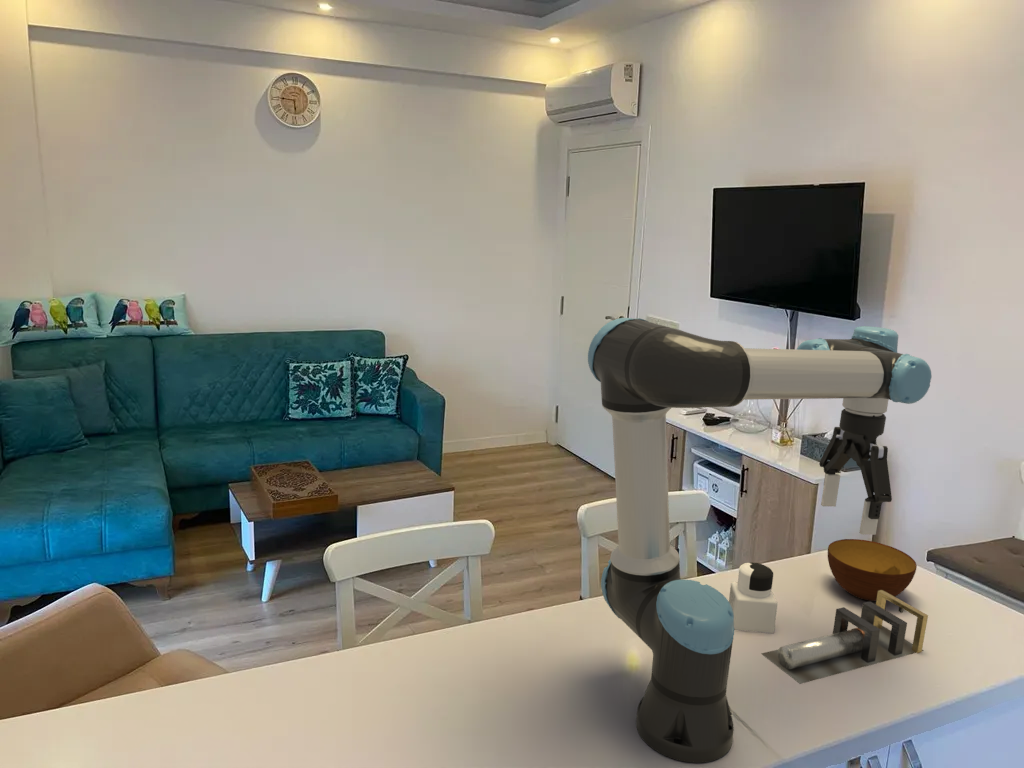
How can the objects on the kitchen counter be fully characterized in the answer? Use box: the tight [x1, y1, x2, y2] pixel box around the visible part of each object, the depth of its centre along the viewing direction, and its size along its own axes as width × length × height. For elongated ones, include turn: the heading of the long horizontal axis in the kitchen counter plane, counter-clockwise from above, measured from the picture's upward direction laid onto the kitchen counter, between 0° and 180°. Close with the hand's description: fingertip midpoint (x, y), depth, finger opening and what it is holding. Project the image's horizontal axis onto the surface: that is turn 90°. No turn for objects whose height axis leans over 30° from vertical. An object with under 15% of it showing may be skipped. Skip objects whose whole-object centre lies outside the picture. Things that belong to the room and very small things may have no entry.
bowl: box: [827, 538, 918, 602], centre depth 164 cm, size 18×18×10 cm
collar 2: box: [860, 601, 908, 656], centre depth 145 cm, size 2×8×6 cm, turn 23°
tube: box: [777, 627, 865, 669], centre depth 139 cm, size 20×4×4 cm, turn 113°
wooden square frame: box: [873, 590, 929, 654], centre depth 146 cm, size 1×10×8 cm, turn 23°
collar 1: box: [832, 607, 880, 663], centre depth 142 cm, size 2×8×6 cm, turn 23°
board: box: [760, 625, 924, 685], centre depth 142 cm, size 31×10×1 cm, turn 113°
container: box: [728, 562, 778, 634], centre depth 150 cm, size 8×8×13 cm
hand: (846, 519), depth 142 cm, fingers open, 13 cm apart
